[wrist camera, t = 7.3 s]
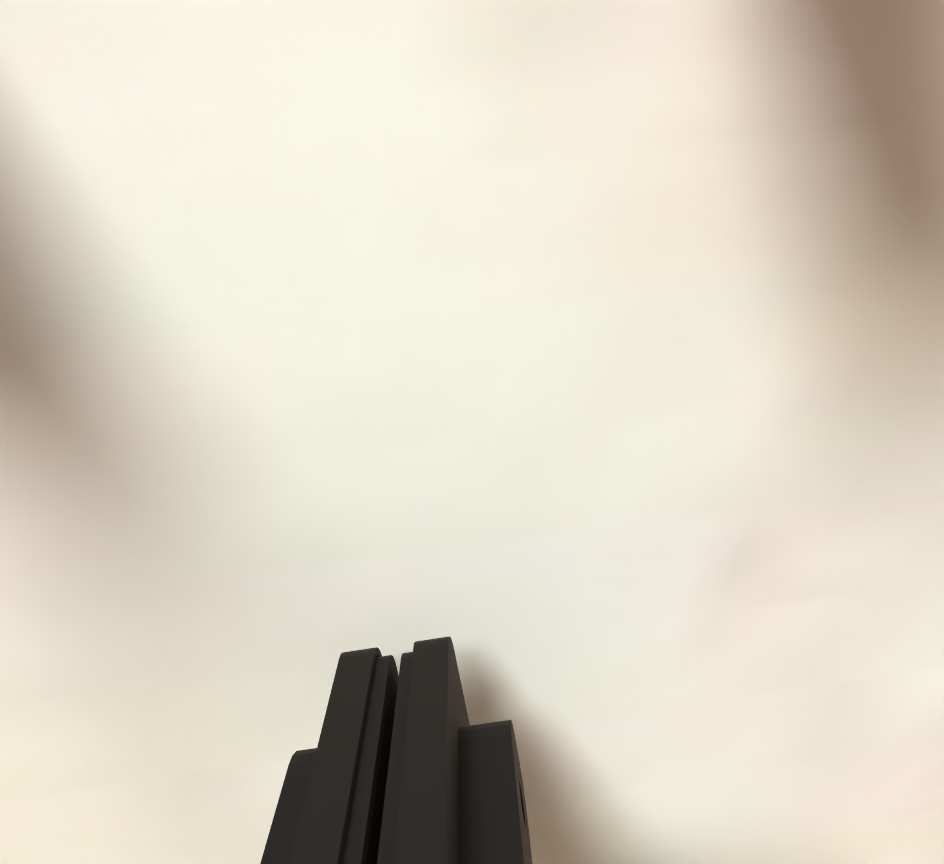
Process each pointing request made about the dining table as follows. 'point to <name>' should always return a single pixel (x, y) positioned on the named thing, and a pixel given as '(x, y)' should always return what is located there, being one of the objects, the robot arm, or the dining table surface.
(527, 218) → the dining table surface
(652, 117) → the dining table surface
